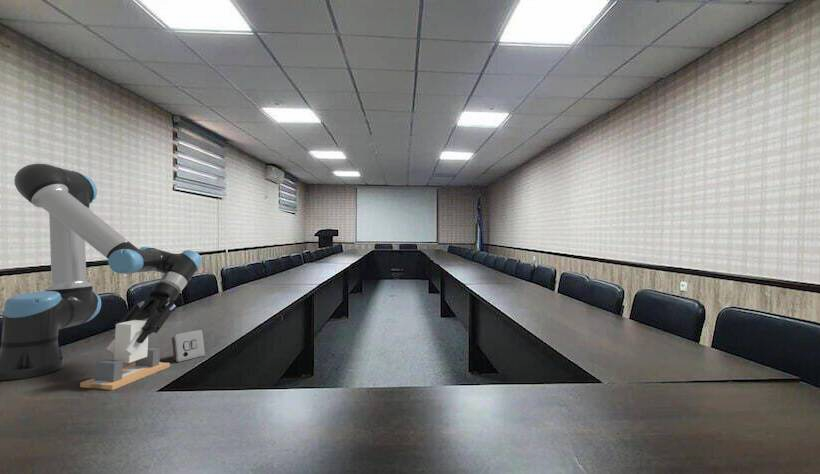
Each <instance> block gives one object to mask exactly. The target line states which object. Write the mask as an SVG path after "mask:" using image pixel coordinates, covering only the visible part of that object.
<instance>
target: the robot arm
mask: <svg viewBox="0 0 820 474" xmlns="http://www.w3.org/2000/svg"><path fill="white" fill-rule="evenodd" d="M14 186H15V188H16V190H17V191H18V192H19V194H20V195H21V196H22V197H23V198H24V199H25V200H27V201H28V202H29V203H31V204H32V205H33V206H34V207H37V208H42V209H43V210H45V211H46V212H48V214H49V215H48V218H49V245H50V269H51V270H50V273H51V274H50V275H51V283H50V285H49V286H47V287H46V288H45V290H44V291H42V290H41V291H34V292H26V293H20V294H16V295H13V296H11V297H9V298H7V299H6V301H5V302H4V307H3V310H2V328H1V343H0V344H1V345H0V381H10V380H20V379H28V378H34V377H37V376H42V375H46V374H50V373H53V372H56V371H59V370H61V369H62V368H64V365H65V357H64V356H63V351H62V350H61V347H60V345H59V341H58V340H59V331H60V330H63V329H66V328H71V327H76V326H80V325H82V324H85V323H87V322H91V320H92V319H94V318H95V317H97V315H98V314H99V313H100V310H101V309H102V300H101V297H100V295H98V293H97V292H96V291H93V284H92V283H90V282H89V281H87V263H86V262H87V261H86V243H87V244H89V245H90V246H91V247H92V248H93V249H95V250H96V251H97V252H98V253H99V254H101V255H102V256H104V257H105V258H106V259H107V264H108V266H109V268H110V270H111V271H113V272H114V273H116V274H126V275H128V274H130V275H131V274H135V273H136V274H137V273H145V272H146V273H147V272H157V273H162V274H163V275H162V276H161V278H160V279H159V280H158V281H157V283H156V284H155V285H154V286H153V288H151V290H150V293H149V296H148V297H147V298H146V299H145V300H144V301H139V300H135V301H134V303H133V306H132V307H131V308H130V309H129V310H128V312H127V313H126V314H125V315H124V317H122V319H121V320H120V321H119V322H118V323H123V322H127V321H132V320H144V319H145V318H146V317H148V318H147V322H146V324H145V326H144V327H142V329H143V331H142V330H139V331H138V332H137V334H136V335H135V336H134V338H133V339H132V340H131V342H130V343H129V344H128V345H127V347H126V348H125V349H124V350H125V351H126V352H127V353H129V354H130V355H132V354H133V353H134V352H135V350H136V349H137V348H138V346H139V345H140V344H141V343H143V342H144V340H145V339H146V338H147V336H148V337H149V335H151V334H152V333H154V334H157V333H159V331H160V330H161V328H162V327H163V326H164V324H165V322H166V321H167V320H168V318H169V317H170V316H171V313H173V312H174V311H175V310H176V309H177V306H176V305H175V303H174V302H175V300H177V299H178V297H179V295H180V293H181V292H182V291H183V290H184V288H185V287H186V286H187V284H188V283H189V282H190V280H191V279H192V277H193V276H194V275H195V274H196V272H198V270H199V268H200V267H201V266H202V263H203V257H202V256H201V255H200V254H199V253H197V252H196V251H194V250H190V249H189V250H188V249H187V250H183V251H182V252H180V254H178V253H173V252H172V253H171V252H169V251H165V250H162V249H157V248H155V247H150V246H149V247H148V246H141V247H140V248H138V247H136V246H135V245H134V244H132V242H131V241H130V240H128V239H127V238H125V237H124V236H123V235H121V234H120V233H119V232H118V231H117V230H116V229H114V228H113V227H112V226H111V225H109V224H108V223H106V222H105V220H103V219H102V218H101V217H99V216H98V215H97V214H96V213H94V212H93V211H92V209H90V204H92V203H93V201H94V200H95V199H96V198H97V195H98V189H97V186H96V183H95V182H94V181H93V180H92V179H91V178H90V177H89V176H87V175H85V174H83V173H80V172H78V171H75V170H70V169H65V168H62V167H57V166H54V165H51V164H48V163H32V164H28V165H25V166H23V167H22V168H20V169H19V170H18V171H17V172H16V174H15V175H14ZM106 350H107V351H109V352H110V353H111V354H113V355H114V351H115V336H114V337H113V340H112V341H111V342H110V344H109V345H108V346H107V347H106Z"/></svg>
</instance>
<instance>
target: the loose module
mask: <svg viewBox="0 0 820 474" xmlns="http://www.w3.org/2000/svg"><path fill="white" fill-rule="evenodd" d="M147 320H148V319H147ZM147 320H144V319H143V320H132V321H127V322H123V323H119V322H118V323H115V335H114V337H115V351H114V354H113V360H122V361H123V364H124V363H125V364H129V363H134V362H136V360H139V359H142V358H145V357H147V353H148V348H149V335H148V336H147V338H146V339H145V340H144V342H143V343H141V344H140V345H139V346H138V348H137V349H136V350H135V352H134V353H133V354H132V355H130V354H129V353H127V352H126V351H125V350H124V349H125V348H126V347H127V345H128V344H129V343H130V342H131V340H132V339H133V338H134V336H135V335H136V334H137V332H138V331H139V330H142V331H143V329H142V327H144V326H145V324H146V322H147Z"/></svg>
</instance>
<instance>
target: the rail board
mask: <svg viewBox="0 0 820 474" xmlns="http://www.w3.org/2000/svg"><path fill="white" fill-rule="evenodd" d="M160 355H161V347H160V348H159V347H148V353H147V357H145V358H142V359H139V360H136V361H135V363H132V364H131V365H127V366H124V363H123V361H122V360H114V359H110V358H107V359H106V358H104V359H100V360H98V361H95V363H94V364H95V367H94V377H92V378H90V379H87V380H84V381H82V382H80V383H79V384H80V385H79V387H80V388H87V389H88V388H89V389H98V390H110V391H113V390H115V389H118V388H120V387H123V386H126V385H128V384H131V383H134V382H135V381H138V380H141V379H143V378H146V377H147V376H150V375H153V374H155V373H158V372H160V371H163V370H165V369H168V368H170V367H171V363H170V362H162V361H160V357H161V356H160ZM123 366H124V367H123Z"/></svg>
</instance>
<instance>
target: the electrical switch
mask: <svg viewBox="0 0 820 474" xmlns="http://www.w3.org/2000/svg"><path fill="white" fill-rule="evenodd" d="M171 343H172V352H173V353H172V354H173V360H174V361H176V362H177V363H181V362H184V361H188V360H192V359H196V358H200V357H204V356H205V354H206V353H205V352H206V351H205V343H204V335H203V330H202V329H198V330H197V329H196V330H193V331H187V332H181V333H176V334H174V335H173V337H172V338H171Z"/></svg>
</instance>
